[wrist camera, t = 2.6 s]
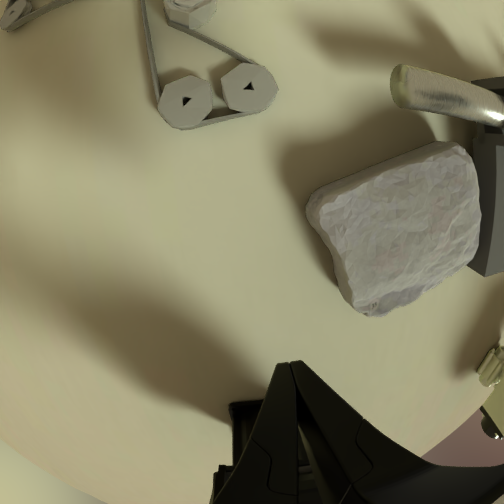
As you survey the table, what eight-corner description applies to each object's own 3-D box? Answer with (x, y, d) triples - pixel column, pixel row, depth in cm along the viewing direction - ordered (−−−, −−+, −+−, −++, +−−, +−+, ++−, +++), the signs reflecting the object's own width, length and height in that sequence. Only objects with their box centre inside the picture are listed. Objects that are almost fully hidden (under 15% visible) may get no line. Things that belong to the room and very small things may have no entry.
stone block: (449, 237, 20) (438, 126, 15) (482, 268, 16) (486, 142, 10) (333, 296, 21) (290, 184, 16) (354, 341, 17) (314, 217, 12)
